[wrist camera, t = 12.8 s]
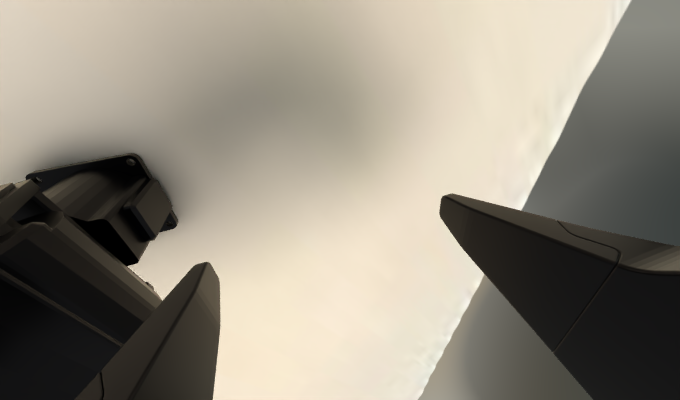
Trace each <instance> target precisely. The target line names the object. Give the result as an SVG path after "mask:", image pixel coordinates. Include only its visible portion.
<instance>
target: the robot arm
mask: <svg viewBox="0 0 680 400" xmlns="http://www.w3.org/2000/svg"><path fill="white" fill-rule="evenodd" d="M129 159H133V160H134V161H135V163H131V162H130V161H129ZM36 177H38V178H40V179H41V180H42V181H39V180H37V179H36ZM171 209H172V205H171V203H170V202H169V200H168V198H167V196H166V195H165V193H164V191H163V190H162V188H161V186H160V184H159V183H158V181H157V180H155V179H153V178H152V176H151V175H150V173H149V171H148V169H147V168H146V166H145V164H144V163H143V161H142V159H141V158H140V157H139V156H138V155H136V154H133V153H129V154H123V155H118V156H113V157H107V158H102V159H97V160H92V161H86V162H81V163H76V164H70V165H65V166H60V167H55V168H49V169H44V170H39V171H34V172H32V173H30V174H28V175H27V176H26V180H25V181H22V182H19V183H16V184H13V183H8V184H5V185H1V186H0V400H213V391H214V382H215V373H216V363H217V354H218V344H219V335H220V282H219V278H218V276H217V274H216V273H215V271H214V269H213V267H212V266H211V264H210V263H209V262H204V263H200V264H197V265H195V266H193V268H192V269H191V270H190V271H189V272H188V273H187V274H186V275H185V276H184V278H183V279H182V280H181V281H180V282H179V283H178V284H177V285H176V287H175V288H174V289H173V290H172V291H171V292H170V293H169V294H168V296H167V297H166V298H165V299H164V300H163V301H162V300H161V298H160V297H159V295H158V294H157V293H156V292H155V291H154V287H153V286H152V285H150V284H149V283H148V282H144V281H143V280H142V279H141V278H140V277H138V276H137V275H136V274H135V273H134V272H133V271H131V270H130V269H129V268H128V267H127V266H129V265H133V264H136V263H138V261H139V260H140V258H141V256H142V254H143V253H144V251H145V249H146V247H147V245H148V244H149V242H150V241H152V240H155V238H156V237H157V235H158V233H159V232H162V231H166V230H170V229H174V228H175V227H176V226H177V224H178V220H177V218H176V217H175V215H174V213H173V211H172V210H171ZM439 213H440V217H441V219H442V220H443V222H444V223H445V225H446V226H447V227H448V229H449V230H450V232H451V233H452V235H453V236H454V237H455V239H456V240H457V242H458V243H459V244H460V246H461V247H462V248H463V250H464V251H465V252H466V253H467V254H468V255H469V257H470V258H471V259H472V260H473V261H474V262H475V263H476V265H477V266H478V267H479V268H480V269H481V270H482V272H483V273H484V274H485V275H486V276H487V277H488V279H489V280H490V281H491V282H492V283H493V284H494V285H495V287H496V288H497V289H498V290H499V291H500V292H501V294H502V295H503V296H504V297H505V298H506V299H507V300H508V301H509V303H510V304H511V305H512V306H513V307H514V309H515V310H516V311H517V312H518V313H519V314H520V315H521V316H522V318H523V319H524V320H525V321H526V322H527V323H528V325H529V326H530V327H531V328H532V329H533V330H534V332H535V333H536V334H537V335H538V336H539V337H540V339H541V340H542V341H543V342H544V343H545V344H546V346H547V347H548V348H549V349H550V350H551V351H552V352H553V353H554V355H555V356H556V357H557V358H558V360H559V361H560V362H561V363H562V364H563V365H564V366H565V368H566V369H567V370H568V371H569V372H570V373H571V375H572V376H573V377H574V378H575V379H576V380H577V381H578V383H579V384H580V385H581V386H582V387H583V389H584V390H585V391H586V392H587V393H588V394H589V395H590V397H592V399H593V400H680V246H674V245H669V244H663V243H659V242H654V241H649V240H644V239H639V238H635V237H630V236H625V235H620V234H616V233H611V232H606V231H602V230H596V229H593V228H588V227H584V226H579V225H576V224H571V223H567V222H564V221H560V220H557V221H556V220H555V219H552V218H547V217H543V216H540V215H535V214H532V213H528V212H523V211H520V210H516V209H512V208H508V207H504V206H500V205H496V204H492V203H488V202H484V201H480V200H476V199H472V198H468V197H464V196H460V195H456V194H448V195H444V196H443V197H442V198H441V204H440V212H439ZM168 222H172V223H173V224H169V223H168Z"/></svg>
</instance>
